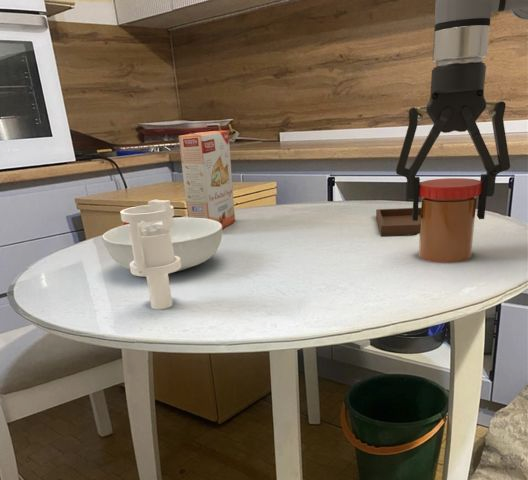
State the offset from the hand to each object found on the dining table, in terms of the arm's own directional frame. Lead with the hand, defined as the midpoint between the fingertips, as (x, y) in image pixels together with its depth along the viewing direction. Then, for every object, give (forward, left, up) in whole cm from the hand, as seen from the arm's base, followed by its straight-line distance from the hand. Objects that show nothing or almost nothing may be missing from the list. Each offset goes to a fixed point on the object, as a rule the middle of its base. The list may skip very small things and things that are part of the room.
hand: (447, 218), depth 87 cm
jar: (0, 0, -7) cm, 7 cm away
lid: (0, 0, +5) cm, 5 cm away
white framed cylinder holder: (+29, +38, -7) cm, 48 cm away
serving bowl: (+43, +22, -7) cm, 49 cm away
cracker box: (+56, -7, -7) cm, 57 cm away
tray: (+14, -22, -7) cm, 27 cm away
